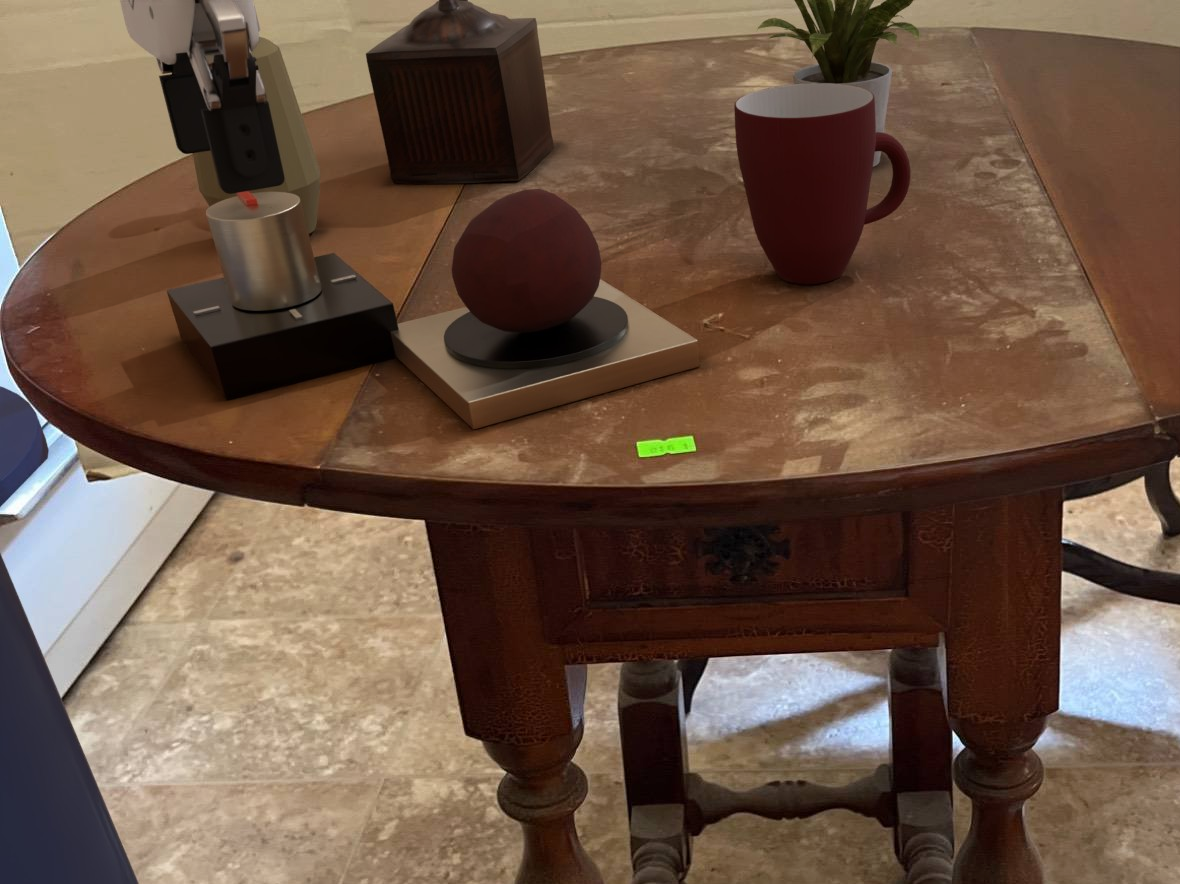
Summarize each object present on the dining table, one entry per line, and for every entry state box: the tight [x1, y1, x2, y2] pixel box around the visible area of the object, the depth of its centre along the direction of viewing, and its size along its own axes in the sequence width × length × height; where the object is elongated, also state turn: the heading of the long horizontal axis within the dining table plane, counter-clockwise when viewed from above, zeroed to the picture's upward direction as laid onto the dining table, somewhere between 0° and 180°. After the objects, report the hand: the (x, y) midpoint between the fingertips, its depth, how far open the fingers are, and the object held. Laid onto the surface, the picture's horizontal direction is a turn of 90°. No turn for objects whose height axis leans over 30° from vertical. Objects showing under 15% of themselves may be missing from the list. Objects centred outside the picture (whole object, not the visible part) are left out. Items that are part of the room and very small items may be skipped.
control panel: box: [166, 252, 399, 401], centre depth 84 cm, size 10×11×3 cm
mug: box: [733, 83, 911, 285], centre depth 87 cm, size 11×8×10 cm
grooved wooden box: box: [365, 0, 555, 185], centre depth 109 cm, size 16×11×18 cm
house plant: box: [756, 0, 921, 168], centre depth 103 cm, size 14×14×16 cm
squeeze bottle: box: [192, 5, 322, 235], centre depth 97 cm, size 8×8×18 cm
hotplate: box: [391, 278, 701, 430], centre depth 80 cm, size 13×13×2 cm
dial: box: [205, 191, 321, 311], centre depth 81 cm, size 5×5×5 cm
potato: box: [451, 188, 603, 333], centre depth 78 cm, size 7×8×7 cm
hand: (230, 168), depth 78 cm, fingers open, 9 cm apart
